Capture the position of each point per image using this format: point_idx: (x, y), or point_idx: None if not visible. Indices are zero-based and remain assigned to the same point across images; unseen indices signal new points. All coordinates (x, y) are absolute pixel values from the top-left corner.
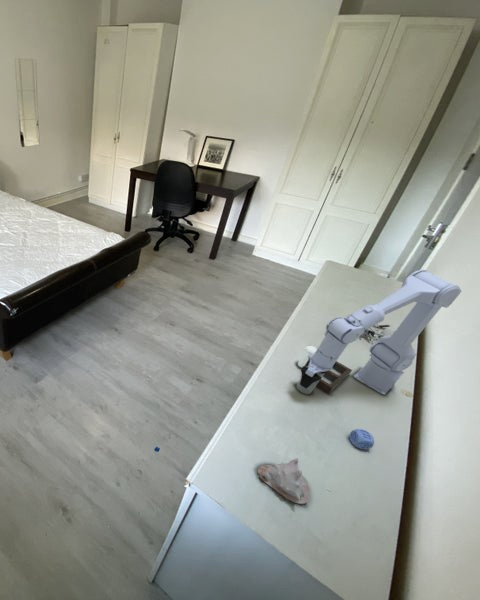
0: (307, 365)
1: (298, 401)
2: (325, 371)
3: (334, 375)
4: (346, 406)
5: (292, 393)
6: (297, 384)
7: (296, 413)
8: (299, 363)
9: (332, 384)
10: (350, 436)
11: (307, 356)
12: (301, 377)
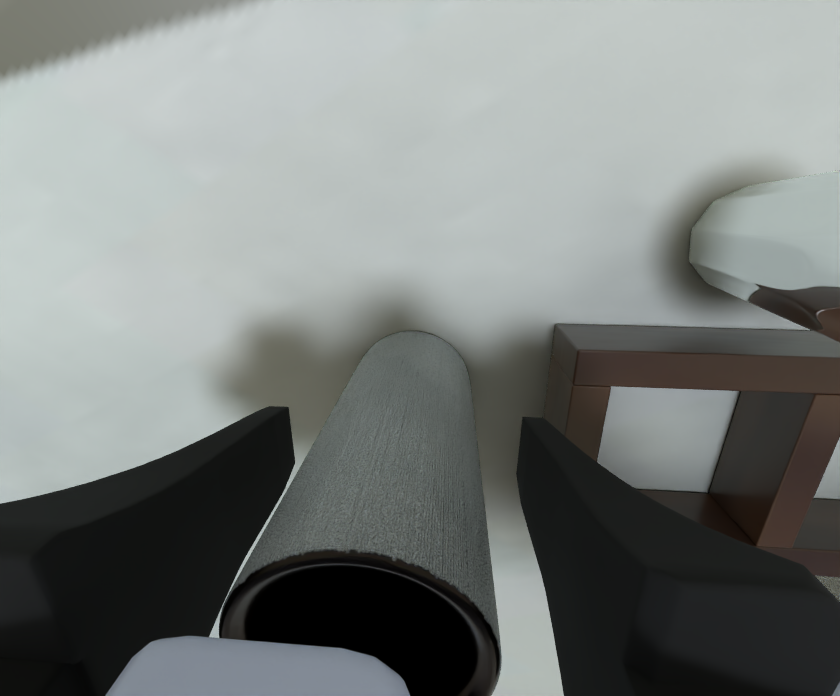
0: (740, 292)
1: (252, 412)
2: (552, 626)
3: (763, 519)
4: (510, 597)
5: (282, 352)
6: (382, 343)
7: (144, 447)
8: (728, 209)
9: None
10: None
11: (130, 667)
12: (180, 449)
